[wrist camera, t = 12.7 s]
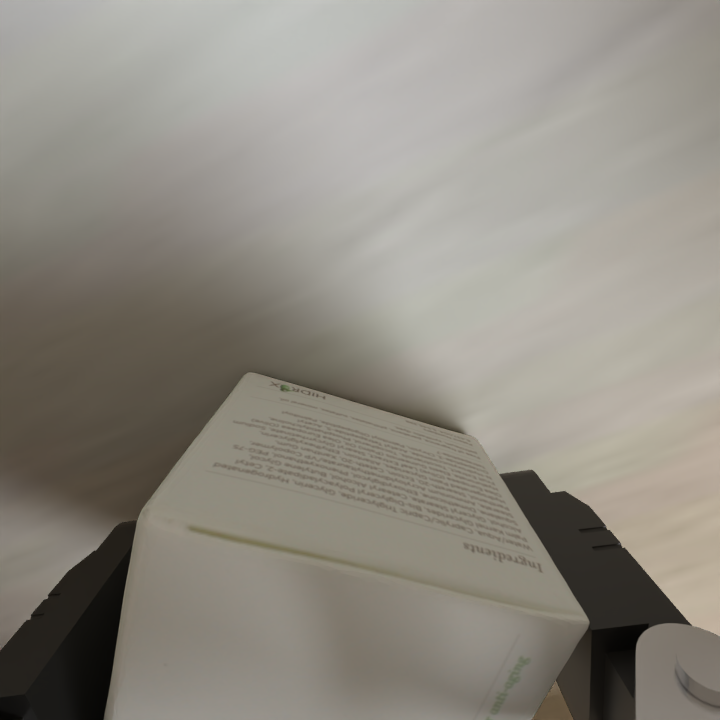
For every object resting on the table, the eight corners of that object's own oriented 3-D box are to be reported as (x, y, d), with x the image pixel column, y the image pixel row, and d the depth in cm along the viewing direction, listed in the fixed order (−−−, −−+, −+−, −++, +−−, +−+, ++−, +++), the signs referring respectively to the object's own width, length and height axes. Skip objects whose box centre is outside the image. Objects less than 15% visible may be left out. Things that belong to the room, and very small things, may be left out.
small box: (406, 616, 11) (444, 899, 6) (194, 566, 10) (63, 836, 6) (487, 432, 9) (616, 627, 5) (242, 363, 9) (116, 505, 4)
